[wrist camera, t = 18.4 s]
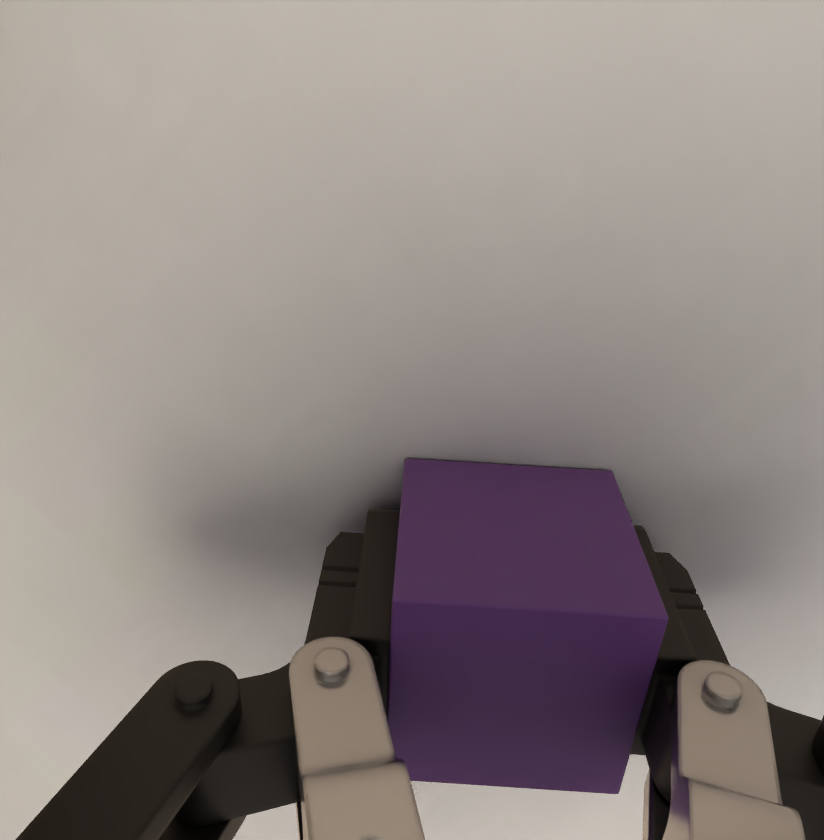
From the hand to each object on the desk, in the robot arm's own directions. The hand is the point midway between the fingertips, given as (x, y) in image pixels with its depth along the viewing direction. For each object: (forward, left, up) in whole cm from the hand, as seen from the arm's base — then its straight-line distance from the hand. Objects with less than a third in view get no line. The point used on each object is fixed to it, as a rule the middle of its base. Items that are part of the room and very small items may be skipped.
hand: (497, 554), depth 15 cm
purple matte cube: (0, 0, 0) cm, 0 cm away
